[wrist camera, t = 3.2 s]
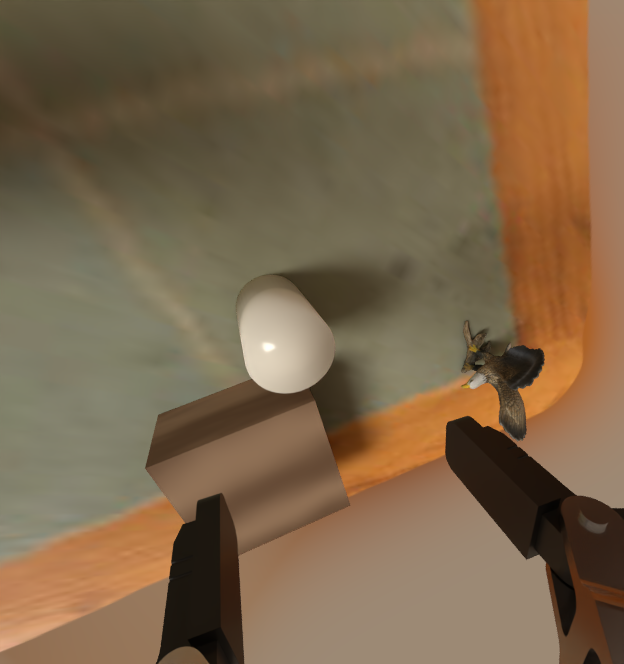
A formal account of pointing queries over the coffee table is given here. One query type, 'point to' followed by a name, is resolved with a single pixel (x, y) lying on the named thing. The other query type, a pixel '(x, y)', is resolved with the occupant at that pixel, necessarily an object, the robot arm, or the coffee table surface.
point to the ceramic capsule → (282, 335)
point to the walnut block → (249, 460)
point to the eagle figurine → (504, 377)
